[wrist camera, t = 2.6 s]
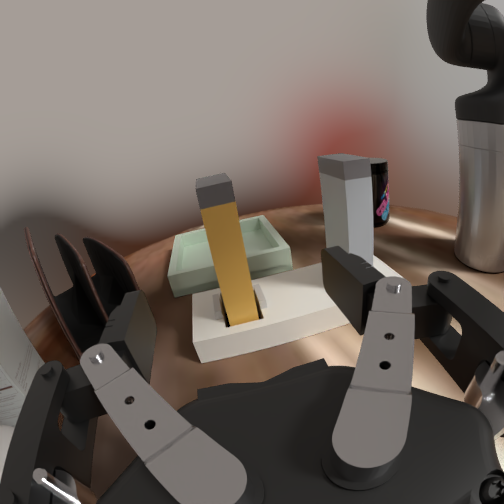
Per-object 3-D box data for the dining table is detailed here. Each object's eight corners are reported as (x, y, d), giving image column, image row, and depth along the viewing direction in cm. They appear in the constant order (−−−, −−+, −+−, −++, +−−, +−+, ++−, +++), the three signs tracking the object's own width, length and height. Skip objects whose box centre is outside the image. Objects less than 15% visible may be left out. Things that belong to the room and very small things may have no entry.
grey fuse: (348, 282, 30) (341, 153, 25) (371, 305, 26) (369, 158, 20) (328, 288, 30) (317, 156, 25) (349, 313, 26) (342, 161, 20)
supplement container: (373, 231, 41) (371, 165, 37) (343, 222, 47) (338, 162, 43) (397, 220, 44) (395, 159, 40) (367, 212, 50) (364, 156, 45)
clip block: (367, 269, 32) (367, 243, 31) (404, 302, 25) (408, 273, 24) (198, 313, 30) (190, 287, 29) (201, 363, 23) (189, 335, 22)
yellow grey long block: (252, 308, 29) (224, 172, 24) (262, 338, 25) (231, 180, 19) (229, 314, 29) (196, 179, 23) (235, 345, 25) (195, 188, 19)
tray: (180, 251, 48) (175, 235, 46) (265, 231, 49) (263, 215, 48) (174, 297, 34) (167, 276, 33) (292, 269, 35) (290, 247, 34)
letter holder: (83, 366, 24) (20, 242, 18) (54, 305, 37) (20, 224, 31) (155, 321, 30) (112, 200, 24) (102, 279, 43) (74, 200, 38)
